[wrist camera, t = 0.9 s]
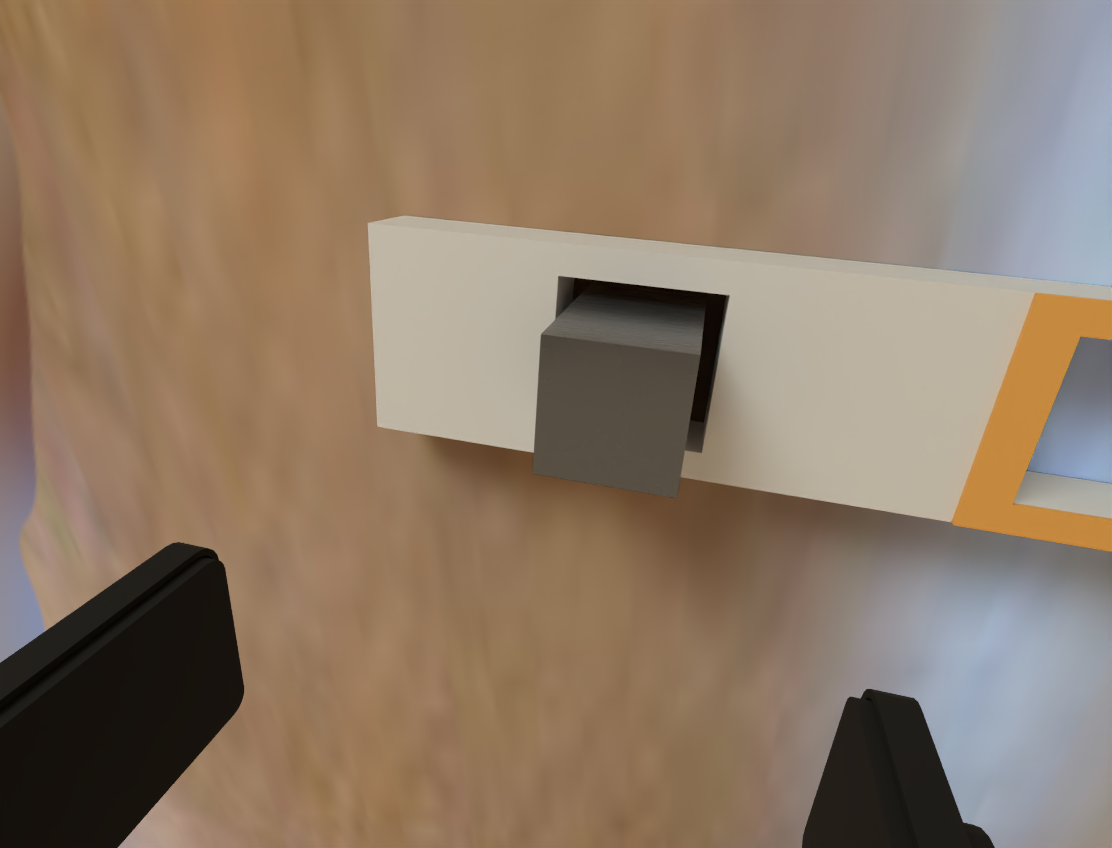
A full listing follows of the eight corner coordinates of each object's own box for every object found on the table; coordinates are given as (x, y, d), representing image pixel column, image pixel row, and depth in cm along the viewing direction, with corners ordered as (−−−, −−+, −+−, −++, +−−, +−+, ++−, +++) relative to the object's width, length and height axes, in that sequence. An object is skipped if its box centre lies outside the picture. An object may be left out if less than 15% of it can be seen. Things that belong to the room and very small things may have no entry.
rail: (404, 215, 26) (365, 223, 23) (1527, 328, 19) (1667, 359, 16) (409, 401, 29) (375, 428, 26) (1373, 552, 22) (1468, 611, 20)
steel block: (592, 282, 25) (540, 334, 18) (706, 295, 24) (700, 355, 17) (582, 388, 27) (532, 473, 20) (689, 403, 26) (676, 498, 19)
